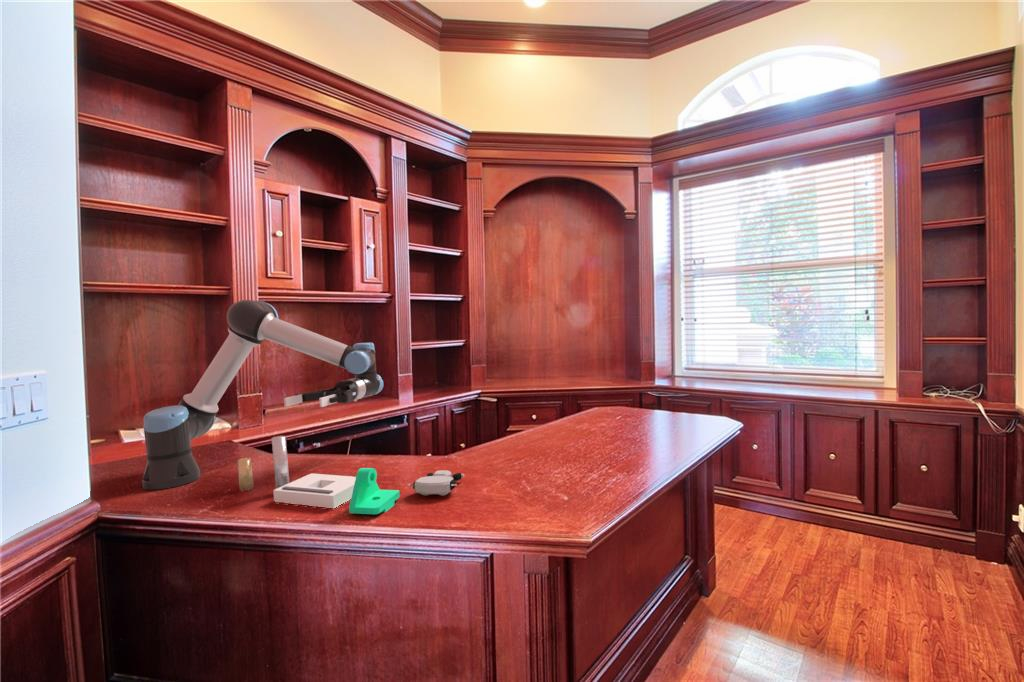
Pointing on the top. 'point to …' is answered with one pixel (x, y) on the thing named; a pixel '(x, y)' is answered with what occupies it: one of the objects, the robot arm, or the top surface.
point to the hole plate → (317, 490)
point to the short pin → (245, 473)
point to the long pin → (280, 461)
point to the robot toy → (436, 483)
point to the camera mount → (370, 494)
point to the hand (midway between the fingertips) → (302, 402)
